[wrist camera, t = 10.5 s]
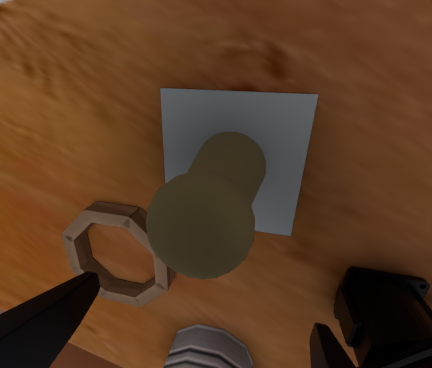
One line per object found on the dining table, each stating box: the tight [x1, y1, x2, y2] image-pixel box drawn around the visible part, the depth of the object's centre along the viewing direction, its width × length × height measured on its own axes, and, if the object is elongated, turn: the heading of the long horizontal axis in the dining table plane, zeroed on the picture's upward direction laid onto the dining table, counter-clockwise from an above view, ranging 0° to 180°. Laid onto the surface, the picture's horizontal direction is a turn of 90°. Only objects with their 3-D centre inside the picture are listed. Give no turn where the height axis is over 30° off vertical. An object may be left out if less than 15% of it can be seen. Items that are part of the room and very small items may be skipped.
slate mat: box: [160, 88, 318, 236], centre depth 20 cm, size 12×12×1 cm
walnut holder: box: [62, 202, 175, 307], centre depth 26 cm, size 12×12×2 cm
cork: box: [146, 132, 266, 279], centre depth 14 cm, size 6×6×11 cm
